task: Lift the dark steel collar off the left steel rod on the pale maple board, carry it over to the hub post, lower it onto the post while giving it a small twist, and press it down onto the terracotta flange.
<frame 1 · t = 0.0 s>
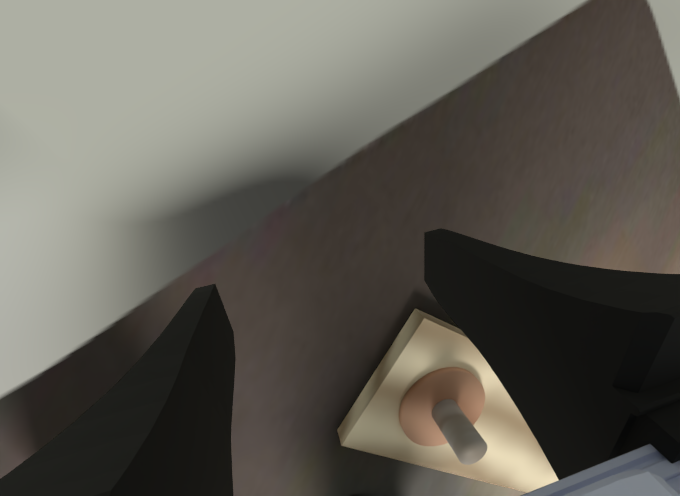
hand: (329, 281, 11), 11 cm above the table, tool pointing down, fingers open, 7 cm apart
stand board: (503, 417, 32), on the table
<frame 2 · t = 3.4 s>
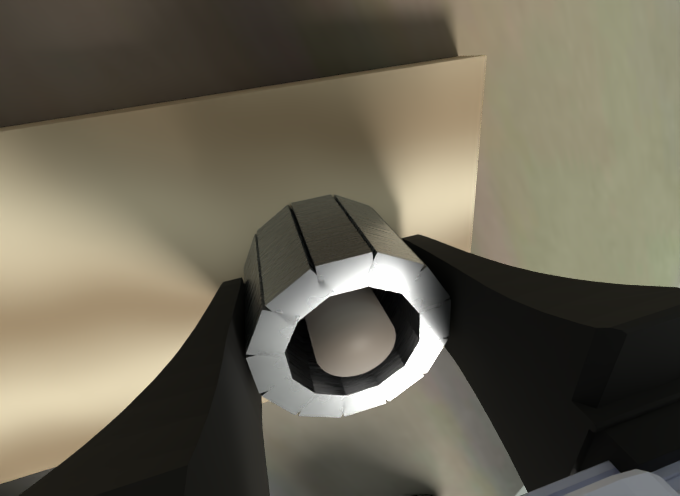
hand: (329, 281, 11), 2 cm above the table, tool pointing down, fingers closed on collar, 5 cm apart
stand board: (70, 307, 12), on the table
collar: (323, 267, 12), point 2 cm above the table, touching gripper, stand board
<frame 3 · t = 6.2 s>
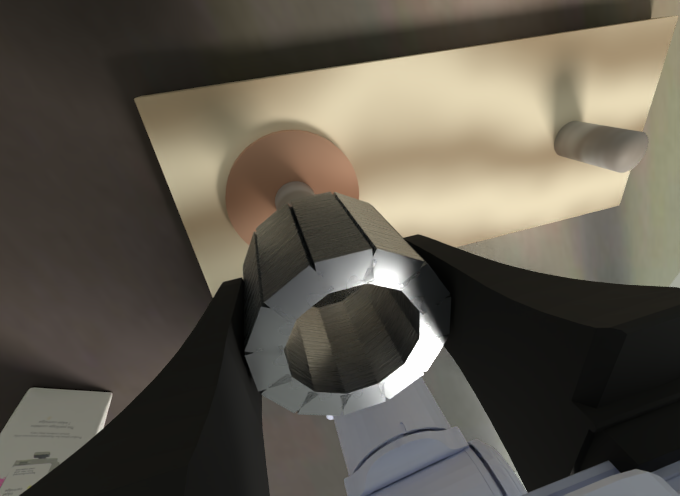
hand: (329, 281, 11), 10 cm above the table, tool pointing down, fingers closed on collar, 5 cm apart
ink cartridge box: (67, 426, 24), on the table
stand board: (429, 160, 22), on the table
collar: (323, 265, 12), point 9 cm above the table, touching gripper
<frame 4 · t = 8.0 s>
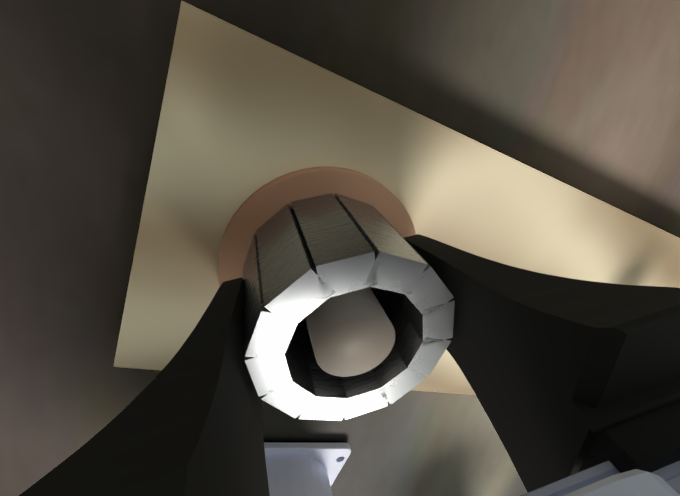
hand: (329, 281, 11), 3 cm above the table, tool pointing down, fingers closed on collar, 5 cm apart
stand board: (475, 285, 17), on the table
collar: (324, 268, 12), point 2 cm above the table, touching gripper, stand board
when the fingers open (3 cm above the table, at t = 9.1 s): collar stays where it is, resting on stand board.
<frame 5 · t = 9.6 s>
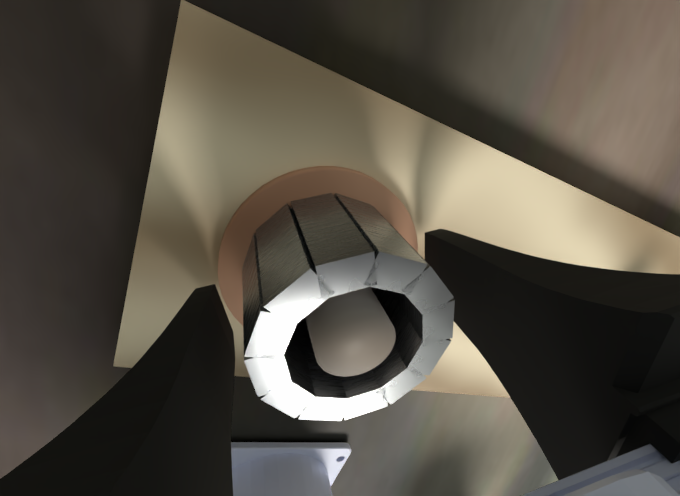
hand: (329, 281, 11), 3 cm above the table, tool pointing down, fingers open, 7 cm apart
stand board: (475, 284, 17), on the table
collar: (323, 267, 12), point 2 cm above the table, touching stand board
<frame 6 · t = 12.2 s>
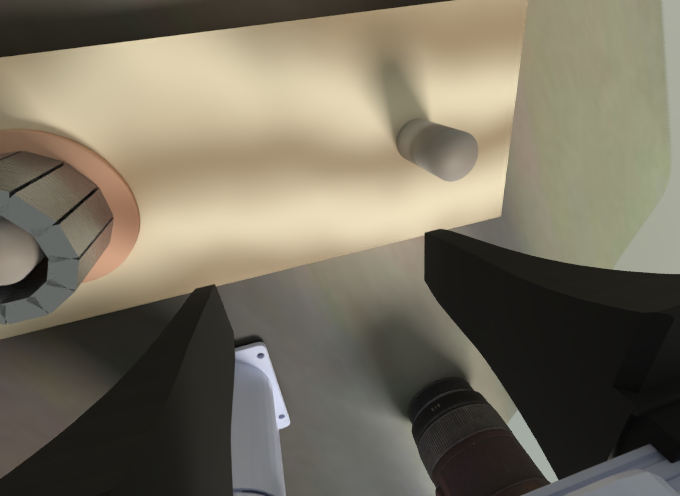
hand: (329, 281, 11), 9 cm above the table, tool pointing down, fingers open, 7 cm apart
camera lens: (439, 400, 33), on the table
stand board: (248, 165, 18), on the table
collar: (40, 214, 15), point 2 cm above the table, touching stand board
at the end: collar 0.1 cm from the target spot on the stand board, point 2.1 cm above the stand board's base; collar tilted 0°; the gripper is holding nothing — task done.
